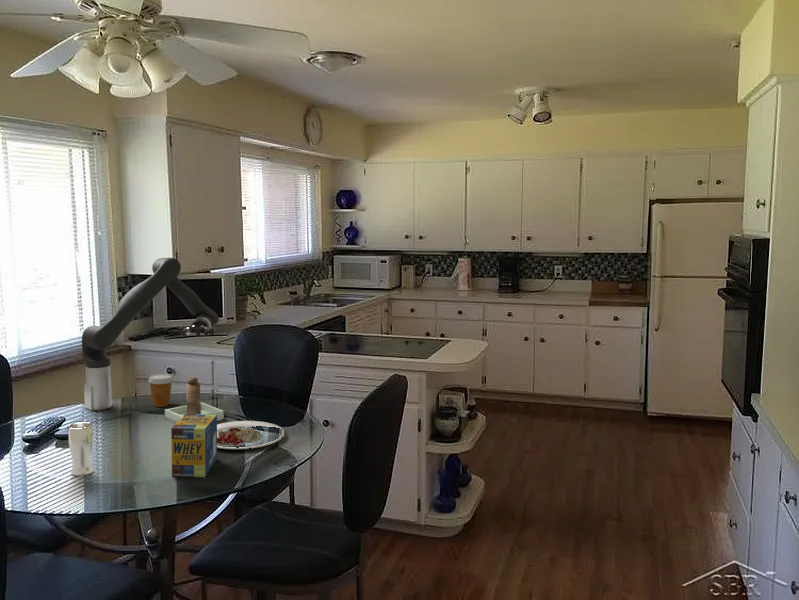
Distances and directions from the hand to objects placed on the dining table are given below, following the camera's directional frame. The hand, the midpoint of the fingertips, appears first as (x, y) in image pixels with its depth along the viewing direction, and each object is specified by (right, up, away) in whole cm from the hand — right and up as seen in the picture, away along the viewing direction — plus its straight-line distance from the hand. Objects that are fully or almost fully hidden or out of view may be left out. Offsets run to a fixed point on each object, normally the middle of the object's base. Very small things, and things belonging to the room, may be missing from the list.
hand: (194, 333), depth 281 cm
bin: (+5, -32, -16) cm, 36 cm away
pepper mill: (+5, -31, -16) cm, 35 cm away
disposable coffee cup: (-14, -30, +2) cm, 33 cm away
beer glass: (-13, -39, -71) cm, 82 cm away
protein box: (+20, -40, -65) cm, 79 cm away
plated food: (+28, -36, -36) cm, 58 cm away
